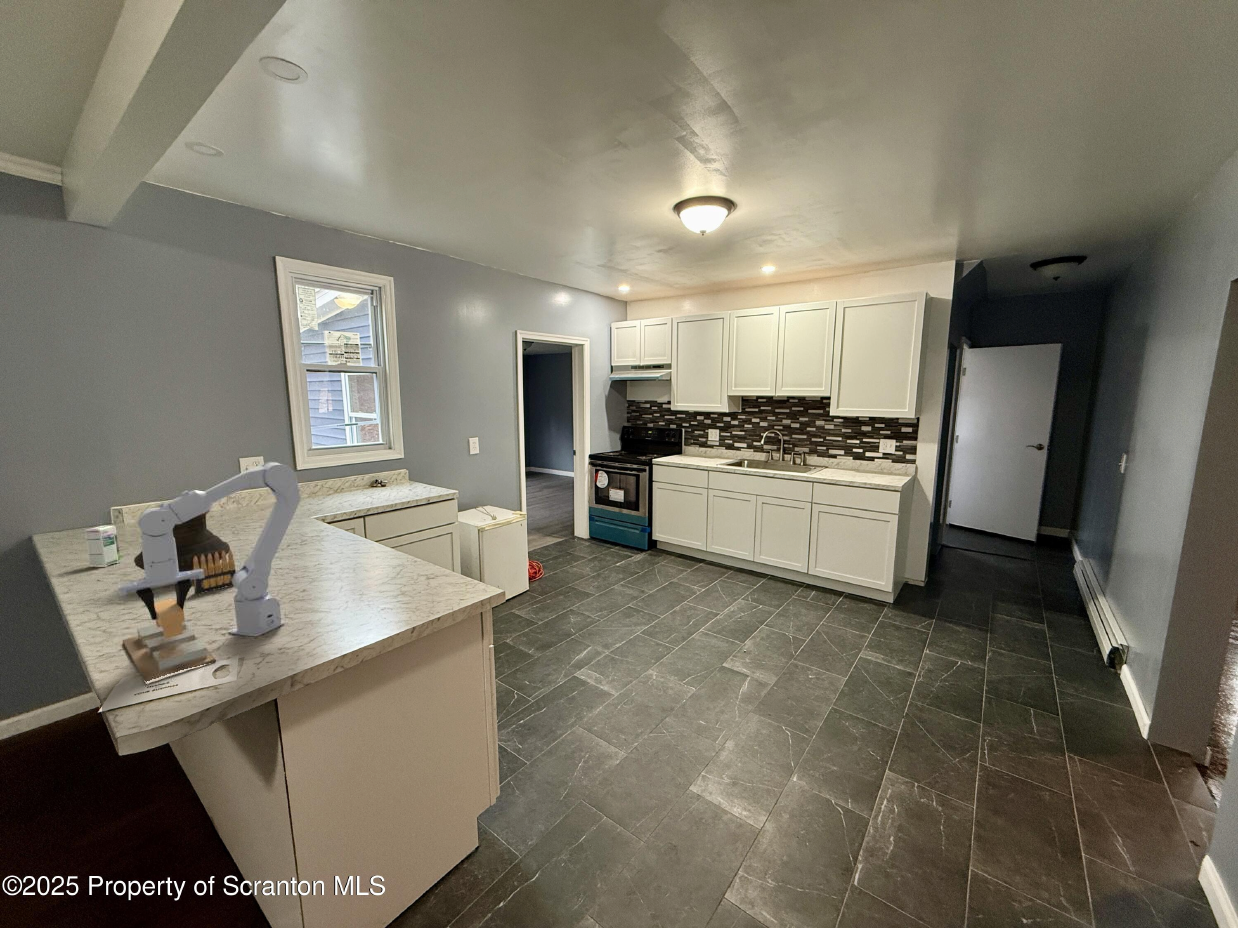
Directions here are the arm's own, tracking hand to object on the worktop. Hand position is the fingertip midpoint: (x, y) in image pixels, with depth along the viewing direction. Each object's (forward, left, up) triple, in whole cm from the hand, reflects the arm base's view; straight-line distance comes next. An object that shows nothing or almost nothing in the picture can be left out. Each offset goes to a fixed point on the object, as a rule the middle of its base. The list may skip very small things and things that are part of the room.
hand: (167, 615), depth 114 cm
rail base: (0, 0, -9) cm, 9 cm away
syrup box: (+98, -43, -9) cm, 107 cm away
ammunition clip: (+32, -34, -9) cm, 48 cm away
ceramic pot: (+55, -41, -9) cm, 69 cm away
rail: (0, 0, -9) cm, 9 cm away
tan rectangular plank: (0, 0, -3) cm, 4 cm away
